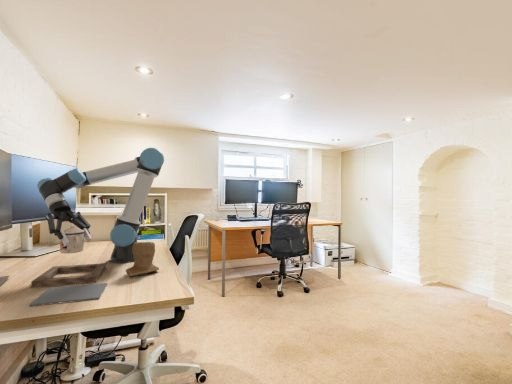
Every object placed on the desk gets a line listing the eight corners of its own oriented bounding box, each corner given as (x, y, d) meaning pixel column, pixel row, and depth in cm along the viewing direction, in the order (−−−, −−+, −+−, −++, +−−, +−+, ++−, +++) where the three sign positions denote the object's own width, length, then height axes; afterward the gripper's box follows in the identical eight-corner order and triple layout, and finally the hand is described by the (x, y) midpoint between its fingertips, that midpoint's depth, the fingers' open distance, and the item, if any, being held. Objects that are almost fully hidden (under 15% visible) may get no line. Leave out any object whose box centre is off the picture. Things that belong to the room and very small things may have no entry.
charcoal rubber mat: (107, 284, 107) (107, 282, 107) (98, 299, 92) (99, 297, 92) (48, 289, 100) (48, 287, 100) (29, 306, 85) (29, 304, 85)
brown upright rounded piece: (149, 267, 133) (150, 238, 133) (162, 272, 125) (163, 241, 125) (119, 273, 121) (120, 241, 121) (130, 279, 114) (131, 245, 114)
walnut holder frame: (105, 268, 129) (106, 263, 129) (95, 282, 109) (95, 276, 109) (52, 271, 122) (53, 266, 122) (31, 287, 101) (31, 281, 101)
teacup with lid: (56, 251, 115) (57, 225, 115) (80, 248, 122) (80, 224, 123) (65, 256, 108) (65, 228, 108) (89, 252, 115) (90, 226, 115)
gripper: (78, 209, 132) (98, 243, 125) (26, 212, 112) (47, 252, 105) (85, 199, 130) (105, 233, 123) (33, 200, 110) (54, 240, 103)
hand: (78, 242), depth 114 cm, fingers closed on teacup with lid, 9 cm apart
